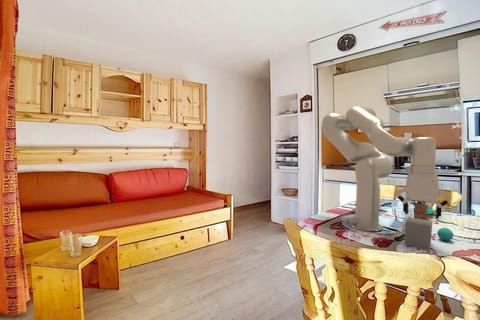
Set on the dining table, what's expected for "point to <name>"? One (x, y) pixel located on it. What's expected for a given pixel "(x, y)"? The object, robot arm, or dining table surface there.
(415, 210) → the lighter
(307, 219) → the dining table surface
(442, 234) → the ball
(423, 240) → the taupe cardboard-like cube
